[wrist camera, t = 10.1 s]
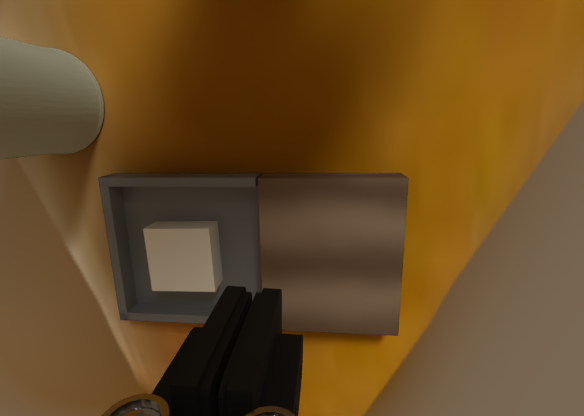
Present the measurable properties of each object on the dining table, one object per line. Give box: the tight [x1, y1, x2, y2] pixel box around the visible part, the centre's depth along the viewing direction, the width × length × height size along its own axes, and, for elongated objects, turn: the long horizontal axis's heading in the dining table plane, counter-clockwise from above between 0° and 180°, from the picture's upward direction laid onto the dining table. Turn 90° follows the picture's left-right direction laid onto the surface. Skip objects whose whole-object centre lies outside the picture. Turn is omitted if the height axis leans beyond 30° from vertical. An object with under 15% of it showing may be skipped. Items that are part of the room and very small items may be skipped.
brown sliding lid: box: [258, 173, 409, 336], centre depth 31 cm, size 14×12×3 cm
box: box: [98, 173, 262, 324], centre depth 32 cm, size 14×14×2 cm
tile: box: [143, 221, 223, 292], centre depth 32 cm, size 6×6×2 cm
